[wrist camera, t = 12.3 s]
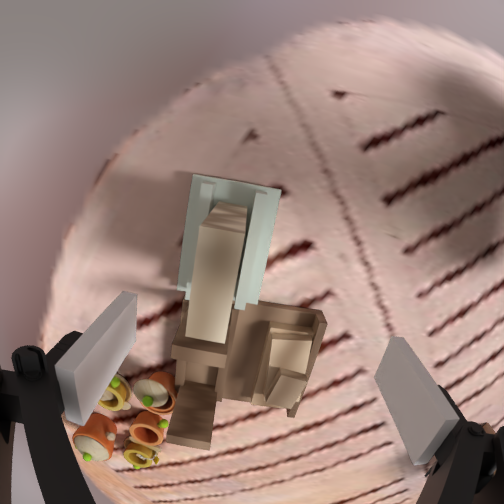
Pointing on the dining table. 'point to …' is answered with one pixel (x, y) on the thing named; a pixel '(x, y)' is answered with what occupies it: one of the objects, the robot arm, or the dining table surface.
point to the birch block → (216, 272)
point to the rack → (243, 366)
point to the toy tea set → (142, 429)
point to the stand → (256, 233)
